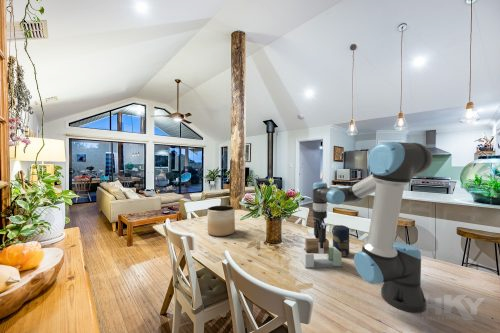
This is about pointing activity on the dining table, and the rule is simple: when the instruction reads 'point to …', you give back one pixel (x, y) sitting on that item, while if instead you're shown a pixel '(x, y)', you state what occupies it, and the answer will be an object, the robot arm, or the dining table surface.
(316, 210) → the robot arm
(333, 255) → the end cap
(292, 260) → the dining table surface
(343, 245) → the canister
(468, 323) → the dining table surface
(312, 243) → the block
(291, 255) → the dining table surface
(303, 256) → the endcap base
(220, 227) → the planter
